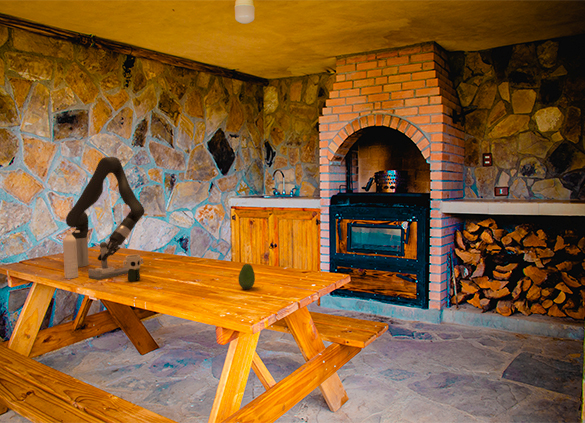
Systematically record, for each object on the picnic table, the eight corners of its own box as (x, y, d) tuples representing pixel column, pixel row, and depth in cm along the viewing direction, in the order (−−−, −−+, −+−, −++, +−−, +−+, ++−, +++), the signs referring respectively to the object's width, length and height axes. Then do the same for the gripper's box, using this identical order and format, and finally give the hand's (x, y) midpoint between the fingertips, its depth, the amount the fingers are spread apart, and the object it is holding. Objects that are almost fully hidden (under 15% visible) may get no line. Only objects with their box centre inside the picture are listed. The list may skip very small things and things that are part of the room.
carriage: (95, 272, 230) (93, 242, 228) (107, 269, 235) (105, 240, 234) (102, 273, 226) (100, 243, 225) (114, 271, 232) (112, 241, 230)
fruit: (256, 290, 200) (256, 264, 199) (240, 291, 198) (239, 266, 197) (253, 285, 207) (253, 261, 206) (237, 287, 205) (236, 262, 204)
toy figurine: (127, 283, 215) (126, 258, 214) (120, 281, 220) (119, 256, 219) (147, 279, 223) (146, 255, 222) (140, 277, 228) (139, 253, 227)
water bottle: (67, 279, 226) (64, 232, 223) (63, 277, 230) (60, 231, 228) (84, 276, 232) (82, 230, 230) (79, 274, 236) (77, 230, 234)
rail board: (88, 278, 228) (88, 268, 228) (129, 269, 249) (129, 260, 248) (98, 280, 223) (97, 270, 223) (139, 271, 243) (139, 262, 243)
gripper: (108, 229, 239) (88, 254, 230) (123, 231, 231) (103, 257, 222) (117, 238, 244) (98, 262, 235) (132, 239, 236) (112, 265, 227)
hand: (100, 260), depth 228 cm, fingers closed on carriage, 3 cm apart
